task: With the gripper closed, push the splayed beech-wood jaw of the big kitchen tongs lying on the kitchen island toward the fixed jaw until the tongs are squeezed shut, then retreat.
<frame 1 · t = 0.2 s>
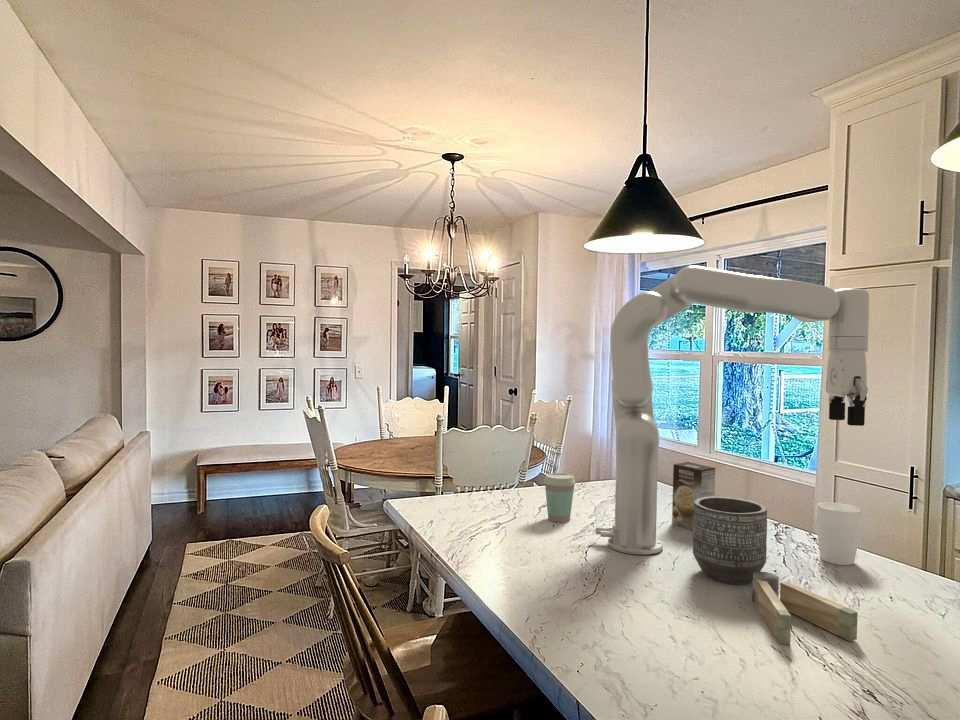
hand: (845, 422, 140), 31 cm above the kitchen island, fingers open, 9 cm apart
planter: (728, 576, 131), on the kitchen island
coffee cup: (559, 520, 171), on the kitchen island
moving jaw: (816, 609, 109), point 3 cm above the kitchen island, hinge at 32.0°
tongs base: (765, 602, 118), on the kitchen island
cup: (837, 561, 141), on the kitchen island
coffee box: (692, 526, 167), on the kitchen island
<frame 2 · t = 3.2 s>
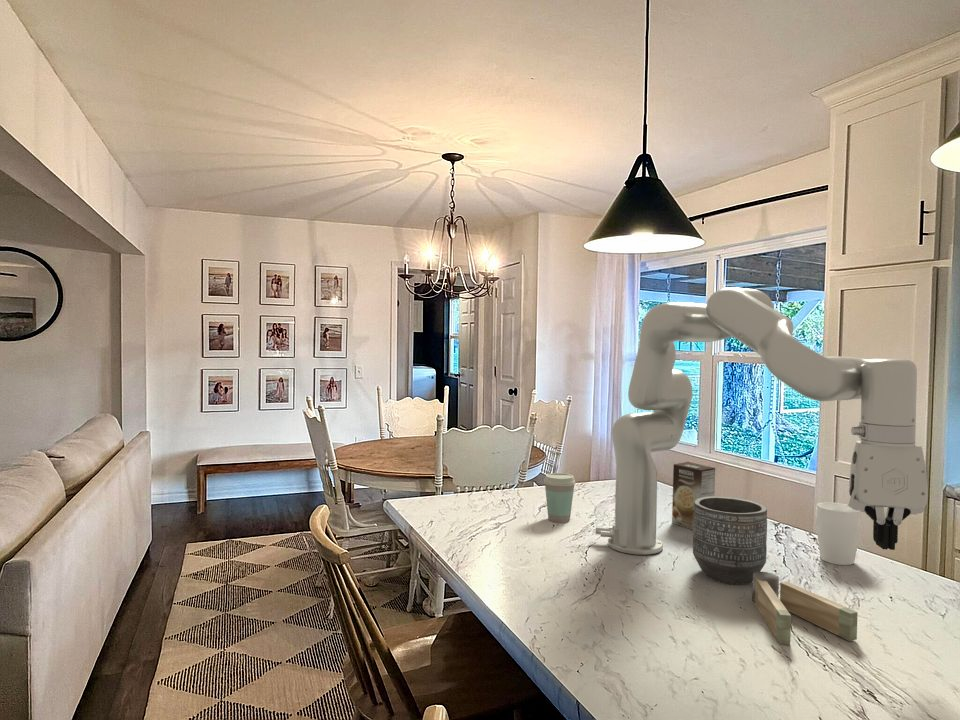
hand: (885, 546, 103), 15 cm above the kitchen island, fingers closed
nothing on the kitchen island moved.
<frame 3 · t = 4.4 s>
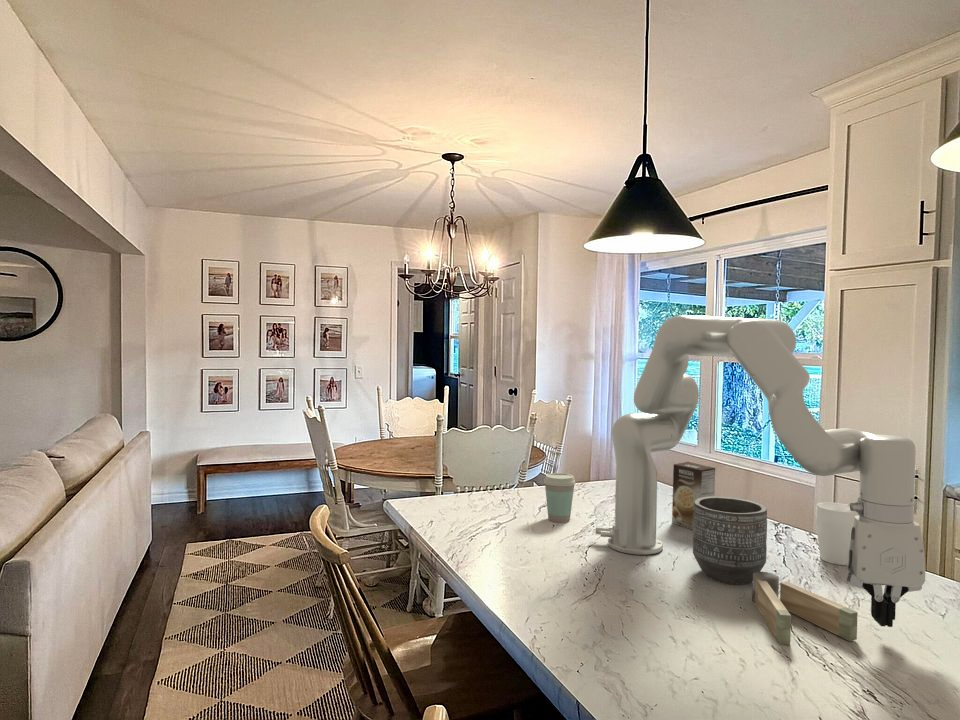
hand: (882, 622, 103), 3 cm above the kitchen island, fingers closed
nothing on the kitchen island moved.
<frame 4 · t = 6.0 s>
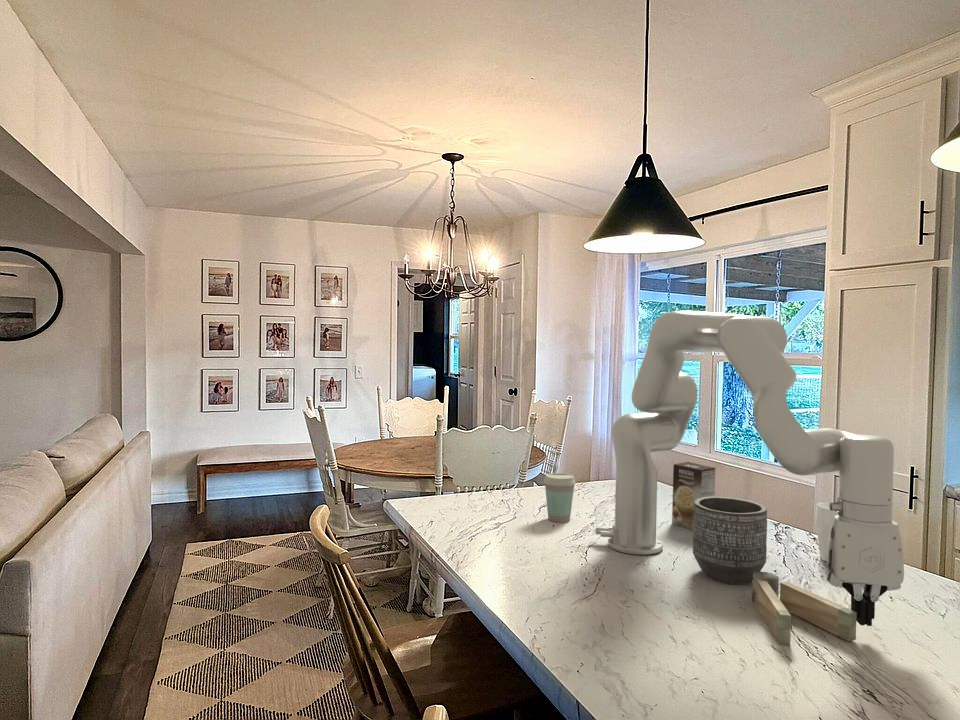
hand: (862, 621, 104), 3 cm above the kitchen island, fingers closed
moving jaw: (815, 609, 109), point 3 cm above the kitchen island, hinge at 31.1°, touching gripper
everything else where it was.
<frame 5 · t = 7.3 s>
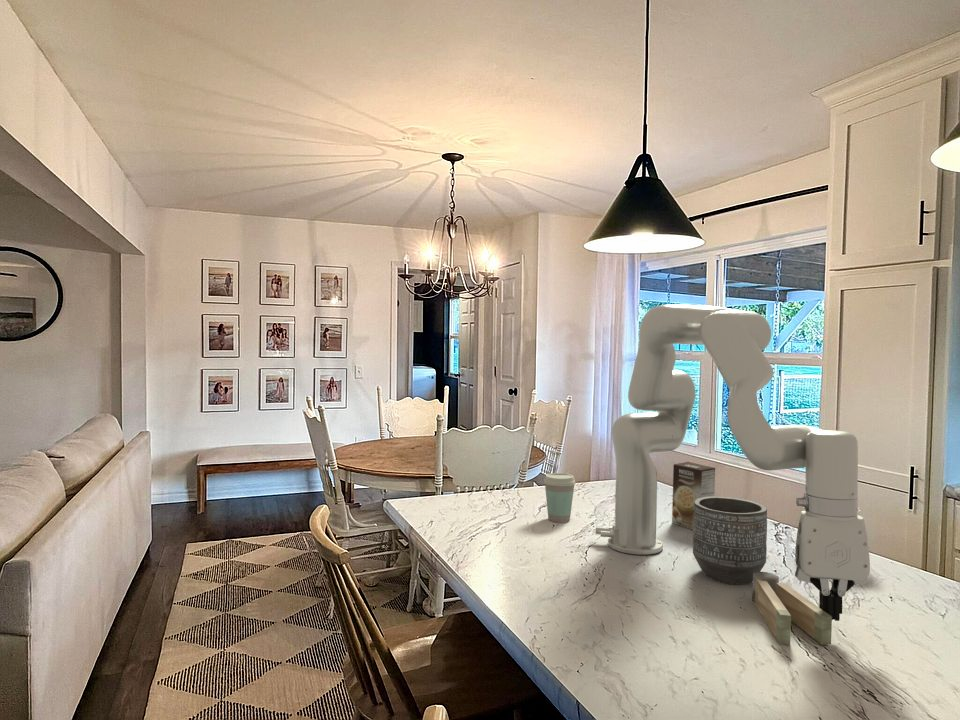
hand: (830, 617, 104), 3 cm above the kitchen island, fingers closed
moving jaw: (801, 611, 108), point 3 cm above the kitchen island, hinge at 13.6°, touching gripper
everything else where it was.
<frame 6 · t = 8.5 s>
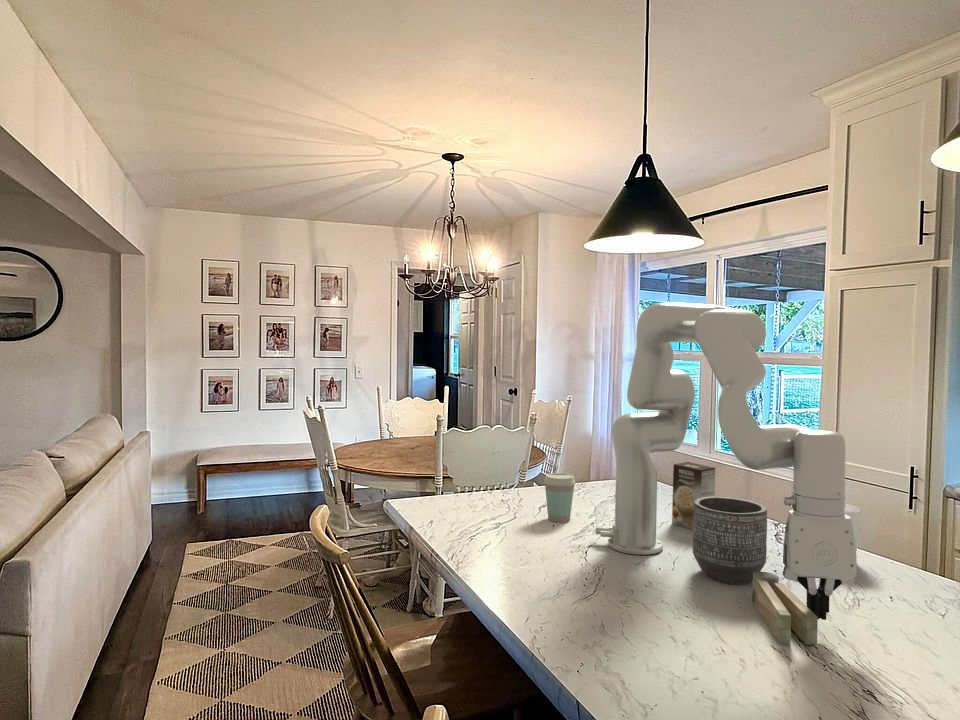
hand: (817, 616, 104), 3 cm above the kitchen island, fingers closed
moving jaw: (794, 612, 108), point 3 cm above the kitchen island, hinge at 5.6°, touching gripper
everything else where it was.
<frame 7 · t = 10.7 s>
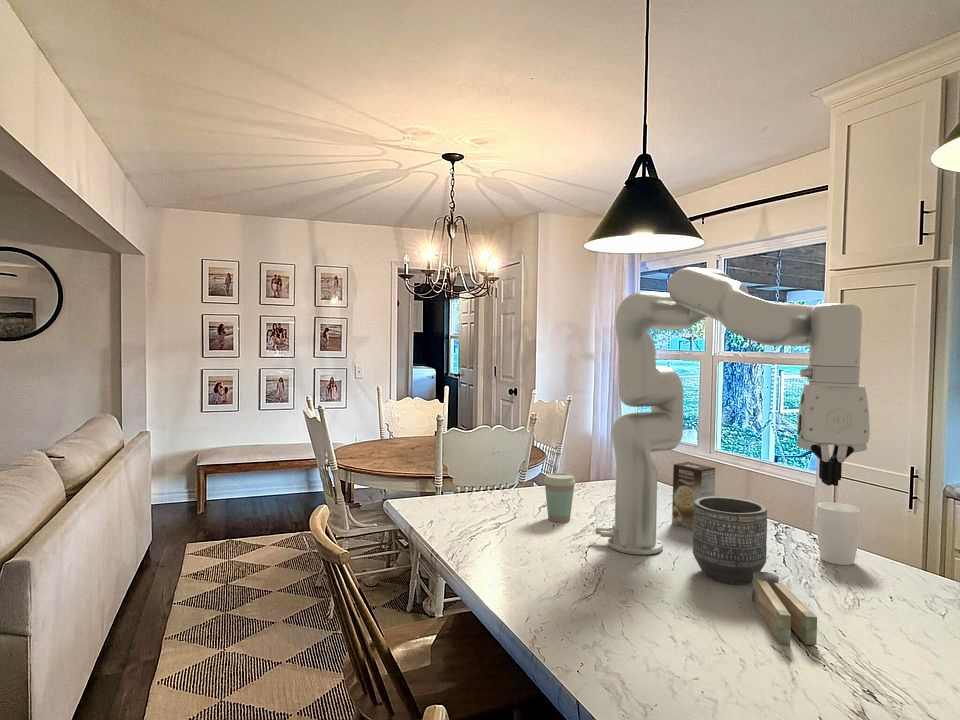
hand: (829, 483, 108), 24 cm above the kitchen island, fingers closed
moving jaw: (793, 612, 108), point 3 cm above the kitchen island, hinge at 5.3°
everything else where it was.
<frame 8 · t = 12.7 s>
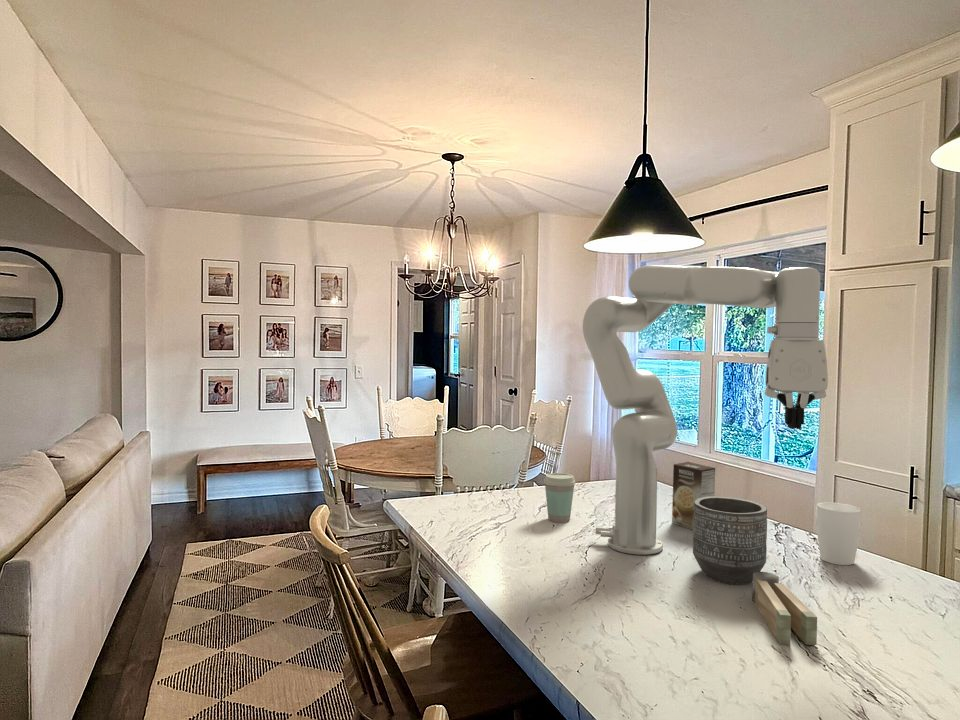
hand: (794, 427, 122), 32 cm above the kitchen island, fingers closed
nothing on the kitchen island moved.
at the end: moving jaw at +5° (first picture: +32°) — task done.
